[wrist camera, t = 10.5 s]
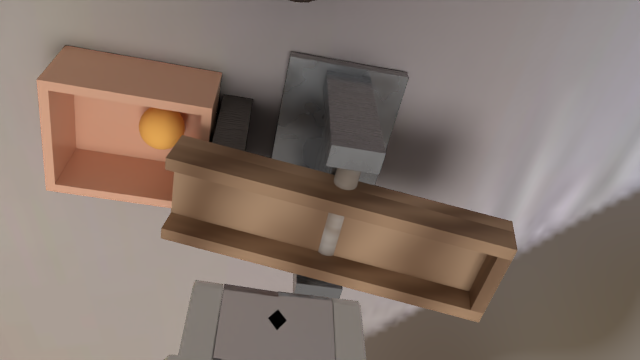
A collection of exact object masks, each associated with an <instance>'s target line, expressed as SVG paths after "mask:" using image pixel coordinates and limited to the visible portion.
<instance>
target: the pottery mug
mask: <svg viewBox="0 0 640 360" xmlns="http://www.w3.org/2000/svg"><path fill="white" fill-rule="evenodd" d="M290 1H294V2H311V1H312V0H290ZM313 1H315V0H313Z"/></svg>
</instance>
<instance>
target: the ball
mask: <svg viewBox="0 0 640 360" xmlns="http://www.w3.org/2000/svg"><path fill="white" fill-rule="evenodd" d="M139 132H140V135H141V137H142V139H143V140H144V142H145V143H146V144H148V145H149V146H150V147H152V148H155V149H160V150H165V149H170V148H172V147H174V146H175V144H176V143H177V141H178V140H179V139H180V137H181V136H182V135H184V132H185V124H184V120H183V118H182V116H181V115H180V113H179V112H176V111H170V110H164V109H158V108H152V107H151V108H149V109H148V110H146V111H145V112H144V114H143V115H142V116H141V119H140V122H139Z"/></svg>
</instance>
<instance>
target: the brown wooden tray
mask: <svg viewBox="0 0 640 360" xmlns="http://www.w3.org/2000/svg"><path fill="white" fill-rule="evenodd" d="M165 170H169V171H173V172H174V180H173V194H172V208H171V214H170V215H169V217H168V218H167V220H166V222H165V223H164V225H163V227H162V228H161V238H162V239H166V240H170V241H174V242H177V243H181V244H185V245H189V246H192V247H196V248H200V249H204V250H208V251H211V252H215V253H219V254H223V255H226V256H230V257H234V258H238V259H241V260H245V261H249V262H253V263H257V264H260V265H264V266H268V267H272V268H275V269H279V270H283V271H287V272H291V273H294V274H298V275H302V276H306V277H309V278H313V279H317V280H321V281H324V282H328V283H332V284H336V285H340V286H343V287H347V288H351V289H355V290H358V291H362V292H366V293H370V294H373V295H377V296H381V297H385V298H389V299H392V300H396V301H400V302H404V303H407V304H411V305H415V306H419V307H422V308H426V309H430V310H434V311H438V312H441V313H445V314H449V315H453V316H457V317H460V318H464V319H468V320H471V321H475V322H479V320H480V319H481V317H482V315H483V313H484V312H485V310H486V308H487V306H488V304H489V302H490V300H491V298H492V297H493V295H494V293H495V291H496V289H497V287H498V286H499V284H500V282H501V280H502V278H503V276H504V274H505V273H506V271H507V269H508V267H509V265H510V263H511V261H512V260H513V258H514V256H515V254H516V252H517V245H516V239H515V234H514V229H513V223H512V221H508V220H505V219H501V218H497V217H493V216H489V215H486V214H482V213H478V212H474V211H470V210H467V209H463V208H459V207H455V206H451V205H447V204H444V203H440V202H436V201H432V200H428V199H425V198H421V197H417V196H413V195H409V194H405V193H402V192H398V191H394V190H390V189H386V188H383V187H379V186H375V185H371V184H367V183H363V182H360V181H359V178H360V174H361V172H360V171H354V170H347V169H341V168H337V169H336V173H335V175H333V174H329V173H325V172H322V171H318V170H314V169H310V168H306V167H302V166H299V165H295V164H291V163H287V162H283V161H280V160H276V159H272V158H268V157H264V156H260V155H257V154H253V153H249V152H245V151H241V150H238V149H234V148H230V147H226V146H222V145H218V144H215V143H211V142H207V141H203V140H199V139H196V138H192V137H188V136H184V135H182V136H181V137H180V139H179V140H178V141H177V143H176V144H175V146H174V147H173V148H172V150H171V151H170V153H169V154H168V155H167V157H166V161H165Z"/></svg>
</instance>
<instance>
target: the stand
mask: <svg viewBox="0 0 640 360" xmlns="http://www.w3.org/2000/svg"><path fill="white" fill-rule="evenodd" d="M408 79H409V77H408V73H407V72H401V71H396V70H390V69H385V68H380V67H374V66H369V65H363V64H358V63H352V62H347V61H341V60H336V59H330V58H325V57H319V56H314V55H308V54H303V53H297V52H292V51H291V54H290V59H289V65H288V70H287V76H286V81H285V86H284V92H283V97H282V102H281V108H280V113H279V119H278V124H277V129H276V135H275V140H274V146H273V151H272V156H271V158H272V159H276V160H280V161H283V162H287V163H291V164H295V165H299V166H302V167H306V168H310V169H314V170H318V171H322V172H325V173H329V174H333V175H335V173H336V169H337V168H341V169H347V170H354V171H360V172H361V174H360V178H359V181H360V182H363V183H367V184H371V185H375V182H376V179H377V176H378V174H380V170H381V167H382V164H383V161H384V158H385V155H386V152H385V151H386V148H387V145H388V142H389V139H390V135H391V132H392V129H393V126H394V123H395V120H396V117H397V113H398V110H399V107H400V104H401V101H402V98H403V95H404V92H405V88H406V85H407V82H408ZM252 101H253V99H249V98H243V97H237V96H231V95H225V94H224V96H223V100H222V104H221V109H220V113H219V117H218V121H217V125H216V129H215V133H214V137H213V141H212V143H215V144H218V145H222V146H226V147H230V148H234V149H238V150H241V151H245V147H246V140H247V134H248V127H249V121H250V114H251V108H252ZM341 292H342V286H340V285H336V284H332V283H328V282H324V281H321V280H317V279H313V278H309V277H306V276H302V275H298V274H294V273H293V293H295V294H304V295H312V296H321V297H329V298H330V299H331V298H337V299H339V298H340V295H341Z"/></svg>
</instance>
